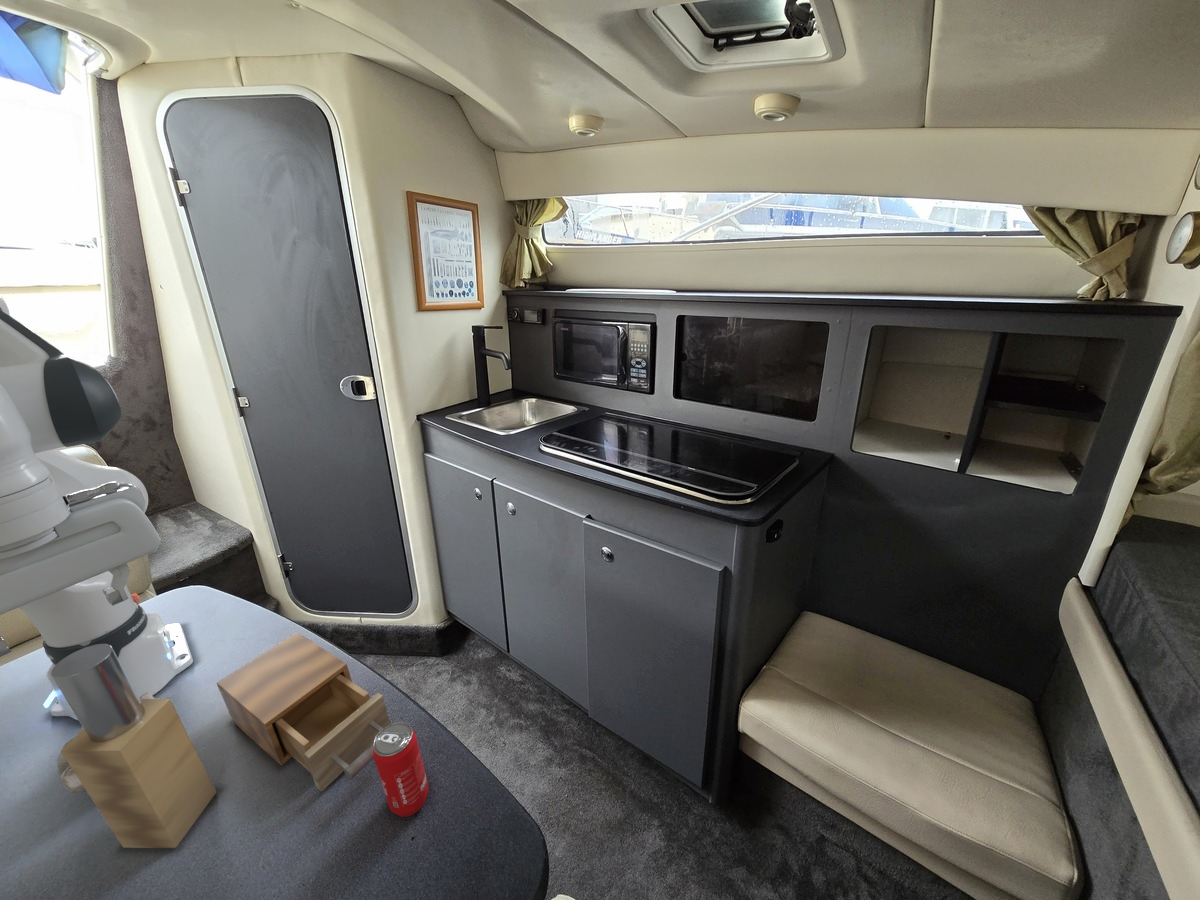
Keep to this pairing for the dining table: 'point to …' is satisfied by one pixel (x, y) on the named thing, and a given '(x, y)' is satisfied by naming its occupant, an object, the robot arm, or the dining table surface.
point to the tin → (98, 692)
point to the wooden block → (144, 778)
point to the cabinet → (277, 688)
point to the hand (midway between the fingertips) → (63, 626)
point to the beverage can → (400, 769)
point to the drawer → (333, 730)
